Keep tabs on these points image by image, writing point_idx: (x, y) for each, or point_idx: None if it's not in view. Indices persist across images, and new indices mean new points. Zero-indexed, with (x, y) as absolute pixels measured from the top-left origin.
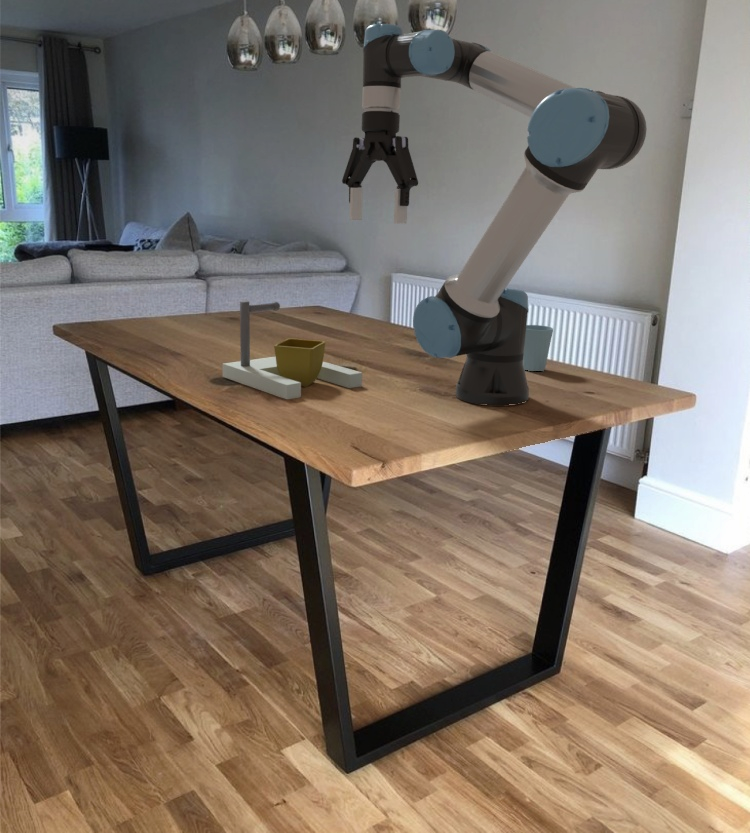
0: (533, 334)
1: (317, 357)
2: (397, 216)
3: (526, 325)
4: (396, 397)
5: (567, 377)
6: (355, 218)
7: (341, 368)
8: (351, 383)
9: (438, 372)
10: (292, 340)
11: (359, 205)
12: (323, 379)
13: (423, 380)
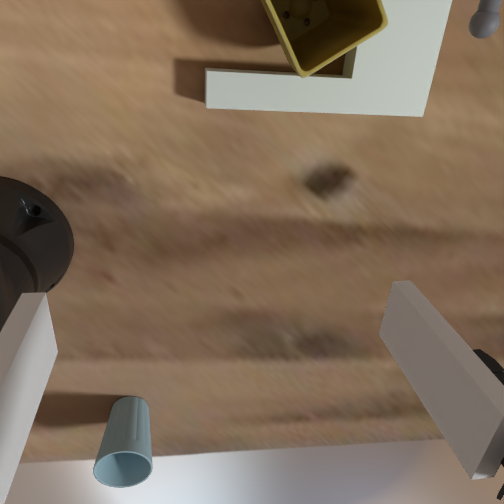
0: (109, 447)
1: (272, 23)
2: (10, 321)
3: (150, 469)
4: (94, 93)
5: (63, 413)
6: (390, 304)
7: (261, 98)
8: (205, 74)
9: (203, 289)
10: (375, 28)
11: (418, 372)
12: (288, 72)
13: (173, 230)
